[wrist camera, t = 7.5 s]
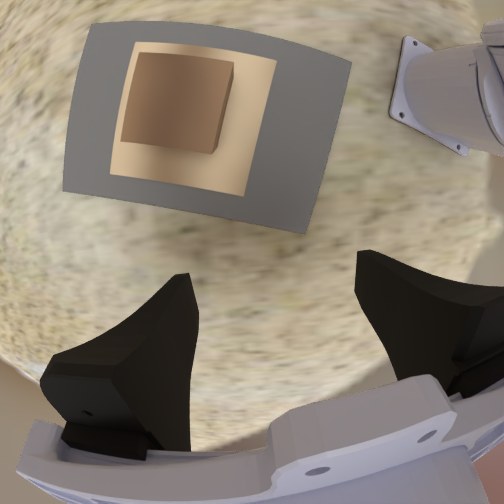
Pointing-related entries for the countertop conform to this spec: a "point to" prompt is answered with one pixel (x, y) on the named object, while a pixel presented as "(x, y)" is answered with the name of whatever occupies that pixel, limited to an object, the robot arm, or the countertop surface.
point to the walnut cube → (177, 101)
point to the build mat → (269, 138)
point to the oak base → (231, 137)
